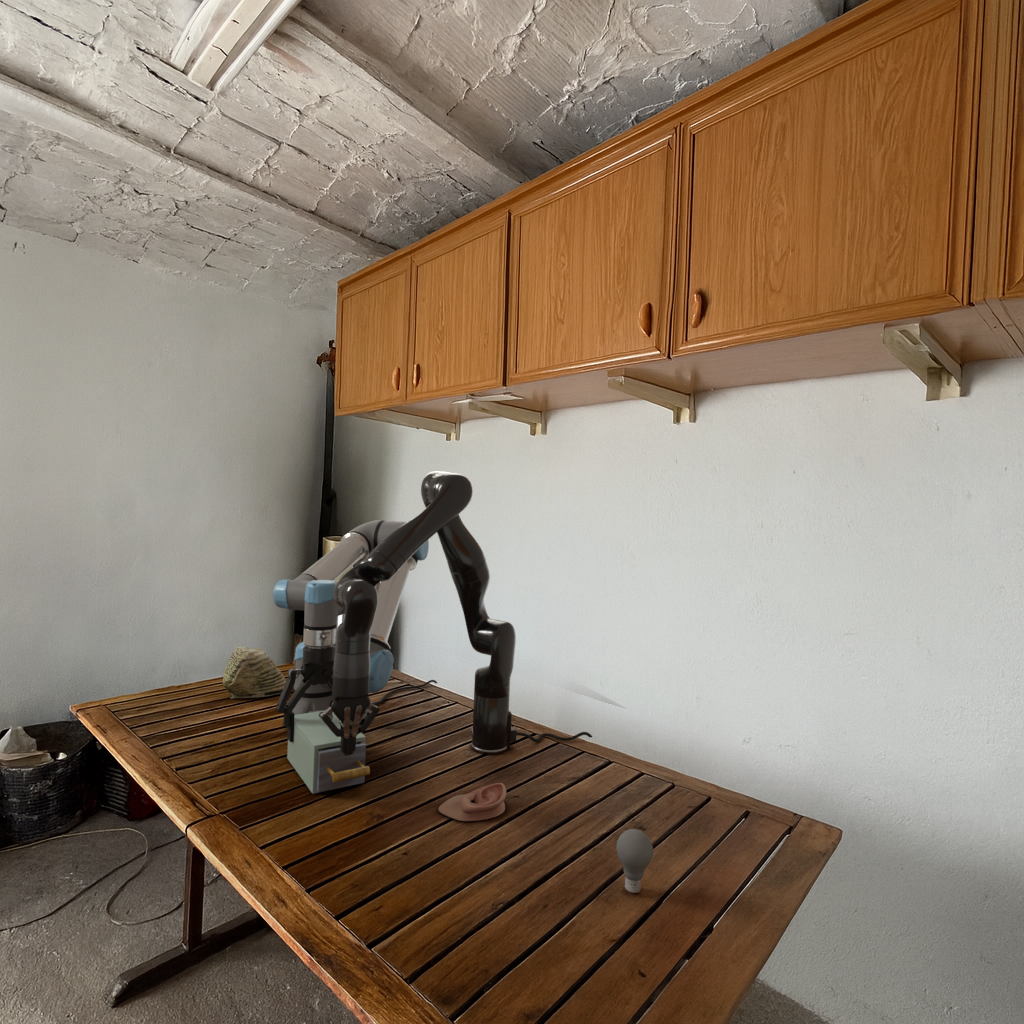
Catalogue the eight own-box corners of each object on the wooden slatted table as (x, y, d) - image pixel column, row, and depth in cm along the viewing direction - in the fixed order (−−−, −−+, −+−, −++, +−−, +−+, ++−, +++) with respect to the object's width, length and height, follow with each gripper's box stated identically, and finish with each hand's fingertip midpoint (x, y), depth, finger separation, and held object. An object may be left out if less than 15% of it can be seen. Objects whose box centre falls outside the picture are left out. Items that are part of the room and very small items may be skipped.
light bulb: (610, 879, 108) (613, 822, 108) (644, 879, 109) (647, 822, 109) (619, 902, 102) (622, 840, 102) (655, 901, 103) (658, 840, 103)
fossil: (218, 695, 195) (220, 647, 195) (278, 685, 208) (279, 640, 207) (228, 703, 189) (230, 653, 188) (289, 692, 201) (290, 645, 201)
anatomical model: (434, 797, 127) (451, 773, 138) (433, 817, 127) (450, 791, 138) (498, 806, 124) (510, 781, 135) (497, 826, 124) (509, 800, 136)
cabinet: (363, 782, 141) (365, 736, 141) (312, 794, 135) (314, 745, 135) (333, 749, 158) (335, 708, 158) (287, 758, 152) (288, 715, 152)
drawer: (374, 793, 134) (376, 754, 134) (327, 804, 129) (328, 763, 128) (335, 751, 155) (337, 716, 155) (293, 758, 150) (294, 723, 150)
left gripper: (271, 653, 142) (268, 749, 143) (372, 644, 155) (368, 732, 156) (264, 646, 148) (260, 738, 149) (361, 637, 162) (358, 722, 162)
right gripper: (326, 680, 127) (322, 766, 127) (388, 673, 134) (384, 754, 134) (314, 671, 133) (310, 753, 133) (374, 664, 140) (370, 742, 140)
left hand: (316, 735), depth 152 cm, fingers closed on cabinet, 11 cm apart
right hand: (347, 753), depth 134 cm, fingers closed
